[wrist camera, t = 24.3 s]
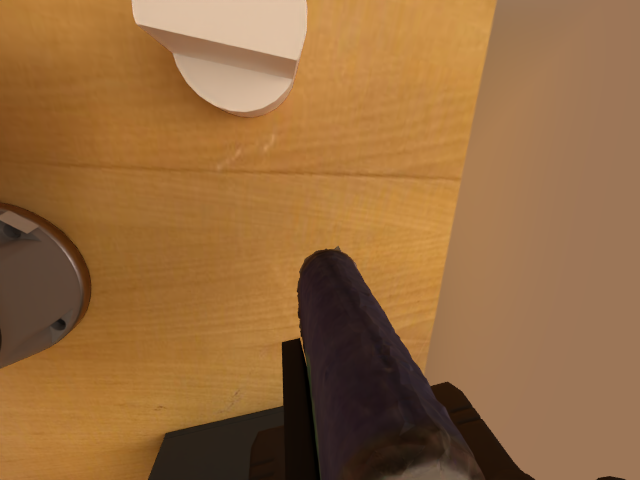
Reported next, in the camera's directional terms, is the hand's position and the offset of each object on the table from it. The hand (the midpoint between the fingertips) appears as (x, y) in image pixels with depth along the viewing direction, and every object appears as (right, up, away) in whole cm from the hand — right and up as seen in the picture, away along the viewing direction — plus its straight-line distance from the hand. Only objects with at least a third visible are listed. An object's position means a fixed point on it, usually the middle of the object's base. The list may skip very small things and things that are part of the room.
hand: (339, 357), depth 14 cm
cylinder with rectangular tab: (-7, +21, +15) cm, 27 cm away
